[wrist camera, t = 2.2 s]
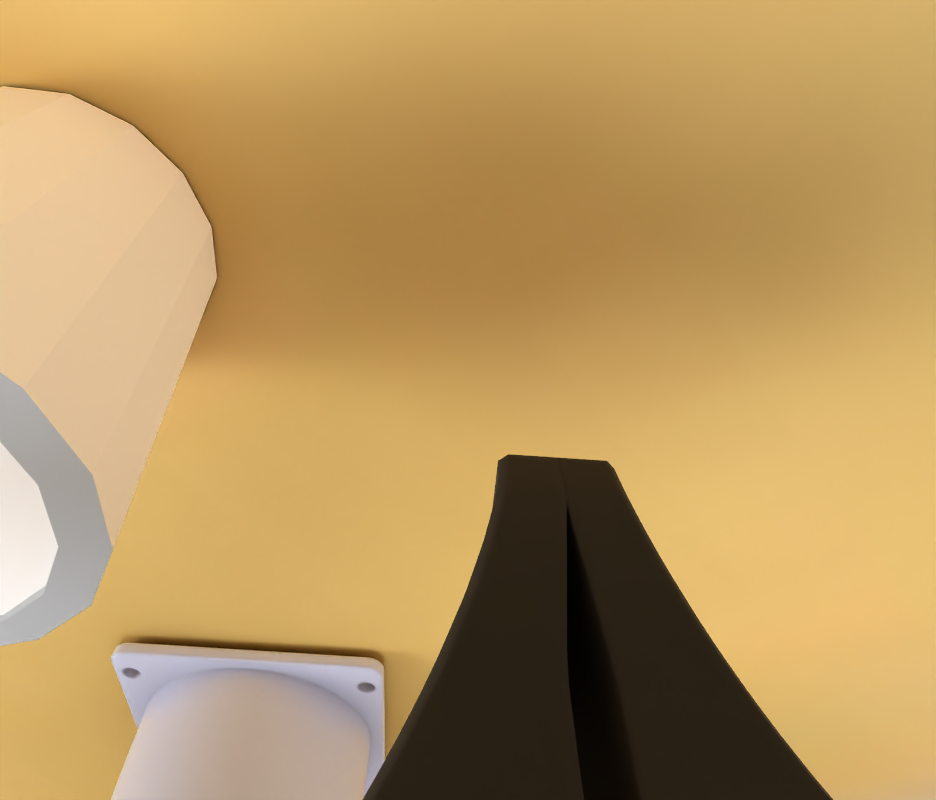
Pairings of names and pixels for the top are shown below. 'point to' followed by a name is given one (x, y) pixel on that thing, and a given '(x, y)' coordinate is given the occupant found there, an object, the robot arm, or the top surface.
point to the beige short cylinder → (84, 340)
